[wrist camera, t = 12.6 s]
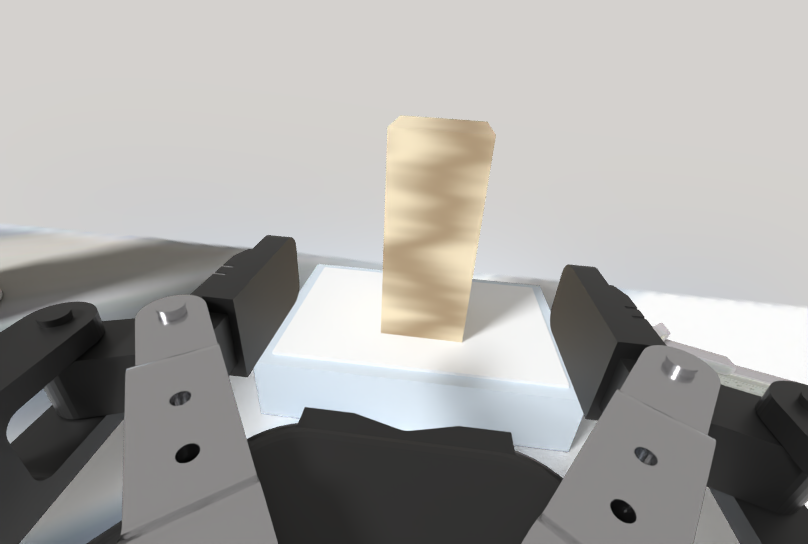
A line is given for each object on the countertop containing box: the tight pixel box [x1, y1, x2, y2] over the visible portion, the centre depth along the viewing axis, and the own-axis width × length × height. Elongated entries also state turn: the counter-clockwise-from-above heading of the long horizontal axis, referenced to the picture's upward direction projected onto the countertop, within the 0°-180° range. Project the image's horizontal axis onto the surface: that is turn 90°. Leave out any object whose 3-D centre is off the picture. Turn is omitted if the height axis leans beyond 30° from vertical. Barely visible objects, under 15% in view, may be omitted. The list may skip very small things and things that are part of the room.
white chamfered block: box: [254, 264, 583, 452], centre depth 26 cm, size 18×12×4 cm, turn 84°
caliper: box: [653, 323, 802, 397], centre depth 24 cm, size 20×1×6 cm, turn 83°
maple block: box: [381, 115, 496, 342], centre depth 23 cm, size 5×5×12 cm
